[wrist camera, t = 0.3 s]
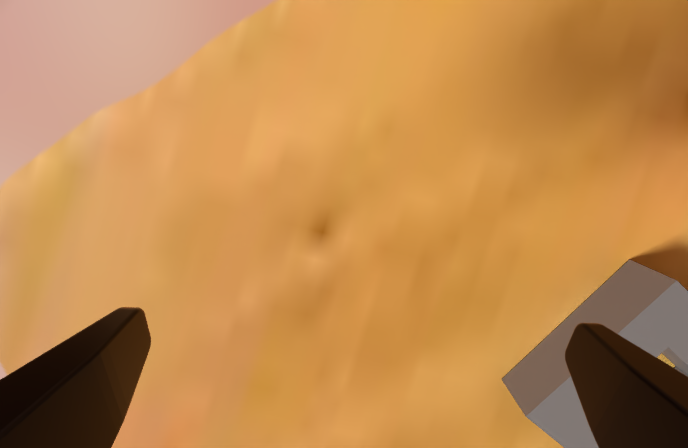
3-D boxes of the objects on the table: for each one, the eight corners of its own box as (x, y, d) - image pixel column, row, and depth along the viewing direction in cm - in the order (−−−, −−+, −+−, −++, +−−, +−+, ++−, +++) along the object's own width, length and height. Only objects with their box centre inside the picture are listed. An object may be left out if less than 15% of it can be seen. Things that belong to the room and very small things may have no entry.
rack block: (609, 467, 28) (646, 513, 25) (501, 379, 26) (526, 416, 23) (735, 361, 26) (795, 396, 23) (629, 259, 24) (676, 280, 21)
